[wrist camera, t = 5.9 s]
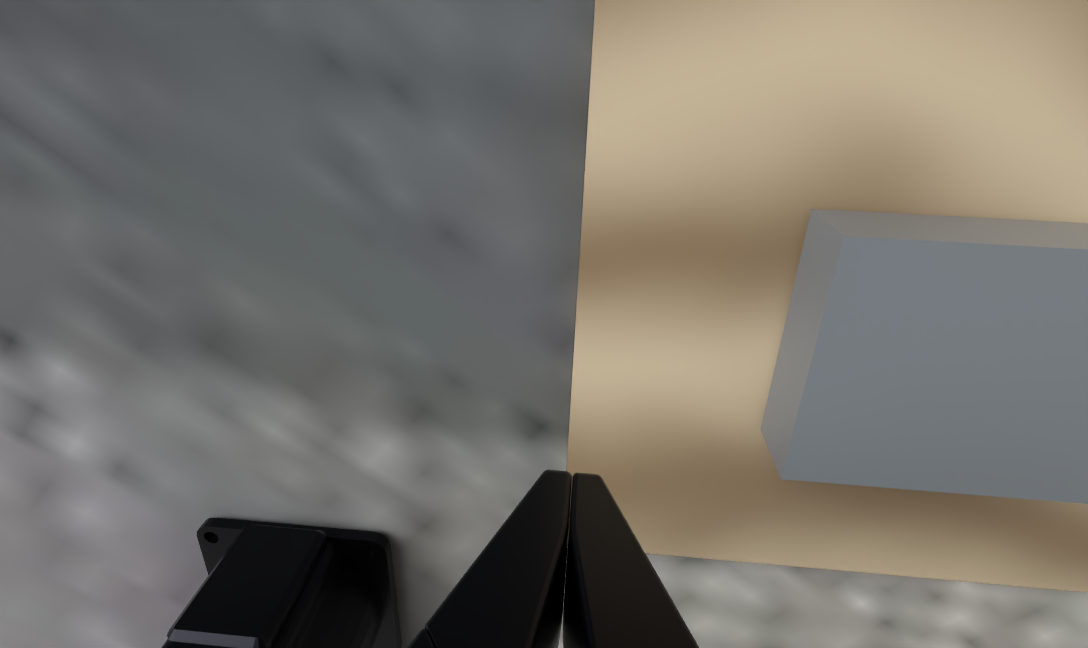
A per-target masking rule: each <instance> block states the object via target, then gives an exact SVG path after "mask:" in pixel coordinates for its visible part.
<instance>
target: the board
mask: <svg viewBox="0 0 1088 648" xmlns="http://www.w3.org/2000/svg"><path fill="white" fill-rule="evenodd" d="M811 209H826V210H845V211H864V212H883V213H902V214H922V215H941V216H960V217H979V218H998V219H1017V220H1036V221H1055V222H1074V223H1088V0H595V14H594V31H593V47H592V64H591V80H590V96H589V113H588V129H587V146H586V162H585V178H584V195H583V211H582V228H581V244H580V260H579V277H578V293H577V310H576V326H575V342H574V359H573V375H572V392H571V408H570V424H569V441H568V457H567V471H568V472H570V473H571V474H572V477H573V475H574V473H576V472H580V473H592V474H598V475H600V476H601V477H602V479H603V480H604V482H605V484H606V485H607V487H608V489H609V491H610V492H611V494H612V496H613V498H614V499H615V501H616V503H617V505H618V506H619V508H620V510H621V512H622V513H623V515H624V517H625V519H626V520H627V522H628V524H629V526H630V527H631V529H632V531H633V533H634V534H635V536H636V538H637V540H638V541H639V543H640V545H641V547H642V549H643V550H644V552H645V553H649V554H660V555H672V556H683V557H694V558H706V559H717V560H728V561H739V562H751V563H762V564H773V565H784V566H796V567H807V568H818V569H829V570H841V571H852V572H863V573H875V574H886V575H897V576H908V577H920V578H931V579H942V580H953V581H965V582H976V583H987V584H998V585H1010V586H1021V587H1032V588H1044V589H1055V590H1066V591H1077V592H1088V504H1083V503H1071V502H1058V501H1046V500H1033V499H1021V498H1008V497H996V496H983V495H971V494H958V493H946V492H933V491H921V490H908V489H896V488H883V487H871V486H858V485H846V484H833V483H821V482H808V481H796V480H783V479H780V477H779V474H778V472H777V469H776V467H775V464H774V462H773V459H772V457H771V454H770V452H769V449H768V447H767V444H766V442H765V439H764V437H763V434H762V432H761V425H762V420H763V416H764V412H765V408H766V403H767V399H768V395H769V390H770V386H771V382H772V377H773V373H774V369H775V364H776V360H777V356H778V351H779V347H780V343H781V338H782V334H783V330H784V325H785V321H786V317H787V313H788V308H789V304H790V300H791V295H792V291H793V287H794V282H795V278H796V274H797V269H798V265H799V261H800V256H801V252H802V248H803V243H804V239H805V235H806V230H807V226H808V222H809V218H810V213H811ZM571 491H572V487H571ZM570 505H571V502H570ZM569 519H570V517H569ZM568 534H569V532H568Z"/></svg>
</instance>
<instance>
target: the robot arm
mask: <svg viewBox="0 0 1088 648" xmlns="http://www.w3.org/2000/svg"><path fill="white" fill-rule="evenodd" d="M571 487H572V491H571ZM570 502H571V505H570ZM569 517H570V519H569ZM568 532H569V534H568ZM197 538H198V541H199V544H200V548H201V551H202V555H203V558H204V561H205V565H206V568H207V571H208V575H209V576H208V577H207V578H206V580H205V581H204V583H203V584H202V585H201V587H200V588H199V589H198V591H197V592H196V594H195V595H194V596H193V598H192V599H191V601H190V602H189V603H188V605H187V606H186V607H185V609H184V610H183V612H182V613H181V614H180V616H179V617H178V619H177V620H176V621H175V623H174V624H173V625H172V627H171V628H170V630H169V632H168V634H167V637H168V639H167V641H166V642H165V643H164V645H163V646H162V648H402V646H401V637H400V628H399V619H398V610H397V600H396V591H395V582H394V573H393V564H392V555H391V546H390V542H389V540H388V539H387V538H386V536H384V535H382V534H381V533H377V532H370V531H359V530H348V529H337V528H325V527H314V526H303V525H292V524H280V523H269V522H258V521H247V520H236V519H224V518H209V519H207V520H206V521H205V522H204V523H203V524H202V526H201V527H200V528H199V529H198V531H197ZM567 546H568V548H567ZM373 547H375V548H373ZM566 560H567V563H566ZM565 574H566V578H565ZM564 588H565V593H564ZM563 602H564V608H563ZM562 614H563V647H564V648H699V647H698V645H697V643H696V641H695V640H694V638H693V636H692V634H691V633H690V631H689V629H688V627H687V626H686V624H685V622H684V620H683V619H682V617H681V615H680V613H679V612H678V610H677V608H676V606H675V605H674V603H673V601H672V599H671V598H670V596H669V594H668V592H667V591H666V589H665V587H664V585H663V584H662V582H661V580H660V578H659V577H658V575H657V573H656V571H655V570H654V568H653V566H652V564H651V563H650V561H649V559H648V557H647V556H646V554H645V552H644V550H643V549H642V547H641V545H640V543H639V541H638V540H637V538H636V536H635V534H634V533H633V531H632V529H631V527H630V526H629V524H628V522H627V520H626V519H625V517H624V515H623V513H622V512H621V510H620V508H619V506H618V505H617V503H616V501H615V499H614V498H613V496H612V494H611V492H610V491H609V489H608V487H607V485H606V484H605V482H604V480H603V479H602V477H601V476H600V475H598V474H592V473H580V472H576V473H574V475H573V477H572V474H571V473H570V472H568V471H556V470H546V471H544V472H543V473H542V475H541V476H540V477H539V478H538V480H537V481H536V482H535V484H534V485H533V486H532V488H531V489H530V490H529V491H528V493H527V494H526V495H525V497H524V498H523V499H522V500H521V502H520V503H519V504H518V506H517V507H516V508H515V510H514V511H513V512H512V513H511V515H510V516H509V517H508V519H507V520H506V521H505V523H504V524H503V525H502V526H501V528H500V529H499V530H498V532H497V533H496V534H495V535H494V537H493V538H492V539H491V541H490V542H489V543H488V545H487V546H486V547H485V548H484V550H483V551H482V552H481V554H480V555H479V556H478V557H477V559H476V560H475V561H474V563H473V564H472V565H471V567H470V568H469V569H468V570H467V572H466V573H465V574H464V576H463V577H462V578H461V579H460V581H459V582H458V583H457V585H456V586H455V587H454V589H453V590H452V591H451V592H450V594H449V595H448V596H447V598H446V599H445V600H444V601H443V603H442V604H441V605H440V607H439V608H438V609H437V611H436V612H435V613H434V614H433V616H432V617H431V618H430V620H429V621H428V622H427V624H426V625H425V629H422V630H421V631H420V632H419V633H418V635H417V636H416V637H415V639H414V640H413V641H412V643H411V644H410V645H409V646H408V648H558V643H559V637H560V631H561V624H562Z"/></svg>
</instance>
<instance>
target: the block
mask: <svg viewBox="0 0 1088 648" xmlns="http://www.w3.org/2000/svg"><path fill="white" fill-rule="evenodd" d="M761 432H762V434H763V437H764V439H765V442H766V444H767V447H768V449H769V452H770V454H771V457H772V459H773V462H774V464H775V467H776V469H777V472H778V474H779V477H780V479H783V480H796V481H808V482H821V483H833V484H846V485H858V486H871V487H883V488H896V489H908V490H921V491H933V492H946V493H958V494H971V495H983V496H996V497H1008V498H1021V499H1033V500H1046V501H1058V502H1071V503H1083V504H1088V223H1074V222H1055V221H1036V220H1017V219H998V218H979V217H960V216H941V215H922V214H902V213H883V212H864V211H845V210H826V209H811V213H810V218H809V222H808V226H807V230H806V235H805V239H804V243H803V248H802V252H801V256H800V261H799V265H798V269H797V274H796V278H795V282H794V287H793V291H792V295H791V300H790V304H789V308H788V313H787V317H786V321H785V325H784V330H783V334H782V338H781V343H780V347H779V351H778V356H777V360H776V364H775V369H774V373H773V377H772V382H771V386H770V390H769V395H768V399H767V403H766V408H765V412H764V416H763V420H762V425H761Z"/></svg>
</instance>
